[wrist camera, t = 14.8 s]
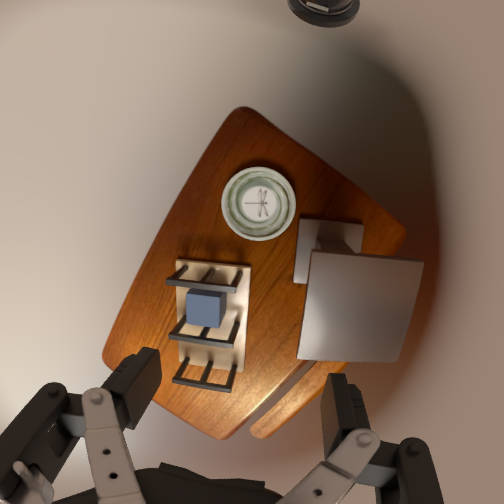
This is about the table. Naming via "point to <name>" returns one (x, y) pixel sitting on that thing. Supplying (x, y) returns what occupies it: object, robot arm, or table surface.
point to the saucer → (258, 203)
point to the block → (205, 307)
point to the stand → (351, 295)
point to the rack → (206, 338)
